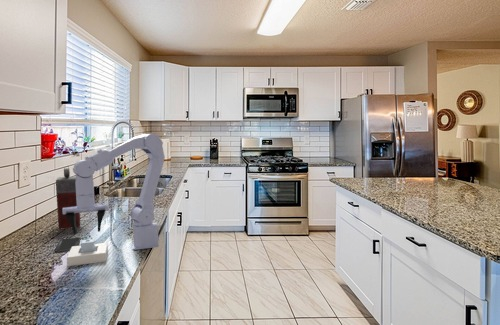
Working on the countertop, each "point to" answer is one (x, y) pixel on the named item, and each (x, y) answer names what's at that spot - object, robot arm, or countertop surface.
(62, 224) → the dark red french press
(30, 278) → the countertop surface
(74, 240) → the phone
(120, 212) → the countertop surface
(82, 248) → the block
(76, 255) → the block
